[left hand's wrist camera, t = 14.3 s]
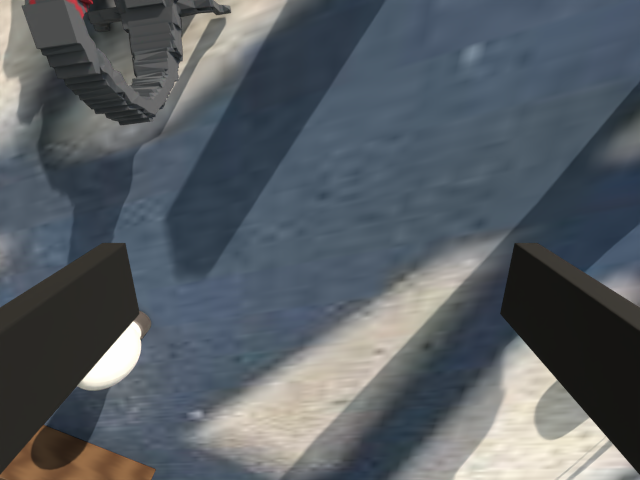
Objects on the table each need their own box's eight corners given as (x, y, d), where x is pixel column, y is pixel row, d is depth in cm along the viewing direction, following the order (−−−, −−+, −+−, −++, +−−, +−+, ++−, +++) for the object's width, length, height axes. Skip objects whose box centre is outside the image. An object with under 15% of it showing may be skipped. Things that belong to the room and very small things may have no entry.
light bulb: (165, 309, 47) (122, 366, 36) (154, 348, 49) (109, 413, 38) (114, 291, 46) (54, 345, 35) (104, 333, 48) (45, 395, 38)
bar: (-8, 431, 54) (-61, 484, 47) (1, 408, 53) (-52, 458, 45) (143, 489, 59) (117, 545, 51) (155, 469, 57) (130, 524, 50)
